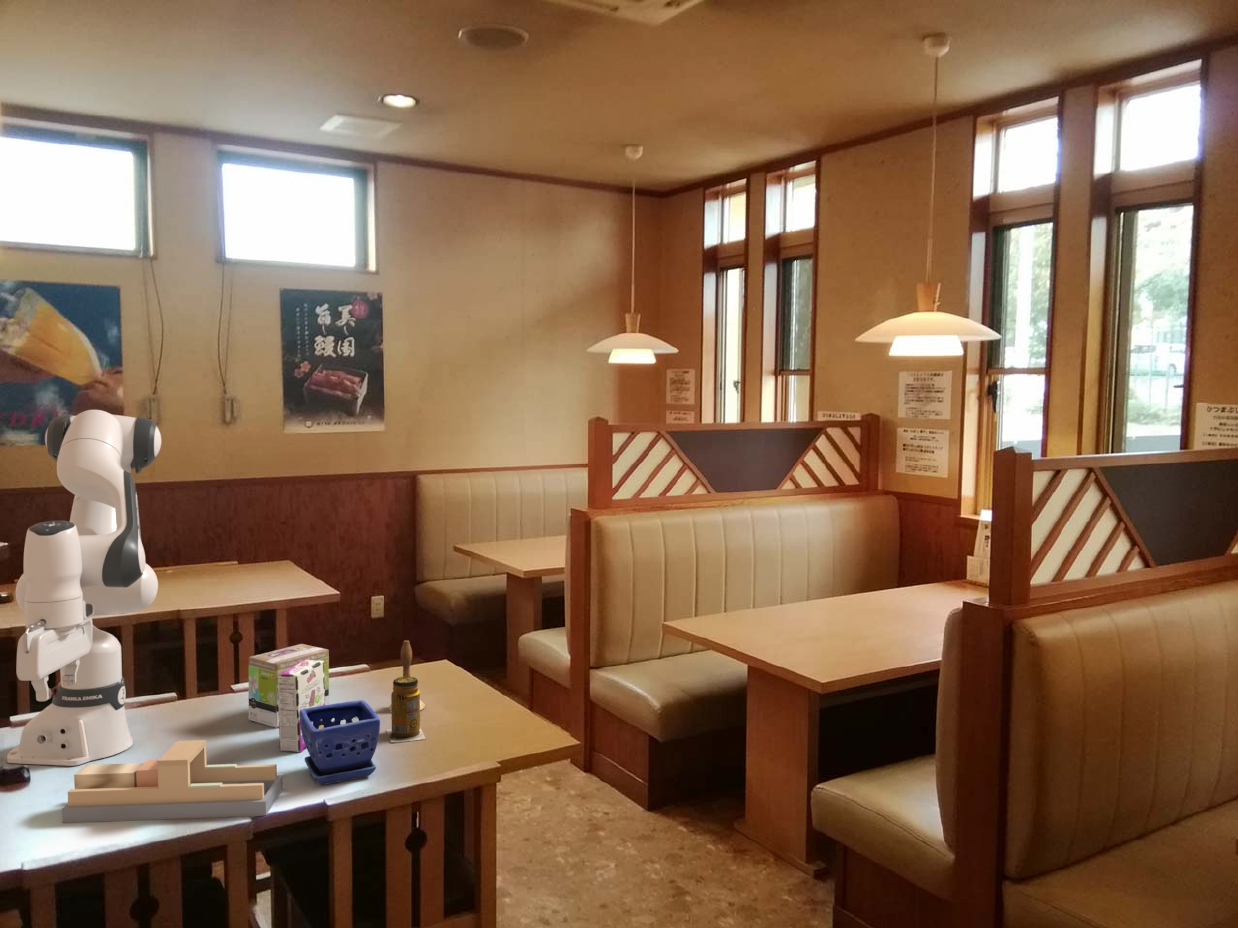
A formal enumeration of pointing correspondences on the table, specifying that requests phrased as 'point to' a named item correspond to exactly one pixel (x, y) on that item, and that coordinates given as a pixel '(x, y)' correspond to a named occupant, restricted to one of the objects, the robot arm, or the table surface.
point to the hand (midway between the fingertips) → (57, 692)
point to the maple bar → (107, 776)
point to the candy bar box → (298, 700)
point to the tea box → (265, 679)
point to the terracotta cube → (148, 774)
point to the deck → (182, 791)
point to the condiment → (405, 711)
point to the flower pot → (340, 741)
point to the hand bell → (407, 664)
